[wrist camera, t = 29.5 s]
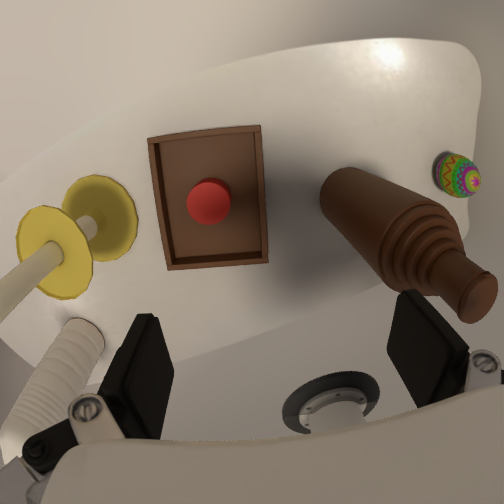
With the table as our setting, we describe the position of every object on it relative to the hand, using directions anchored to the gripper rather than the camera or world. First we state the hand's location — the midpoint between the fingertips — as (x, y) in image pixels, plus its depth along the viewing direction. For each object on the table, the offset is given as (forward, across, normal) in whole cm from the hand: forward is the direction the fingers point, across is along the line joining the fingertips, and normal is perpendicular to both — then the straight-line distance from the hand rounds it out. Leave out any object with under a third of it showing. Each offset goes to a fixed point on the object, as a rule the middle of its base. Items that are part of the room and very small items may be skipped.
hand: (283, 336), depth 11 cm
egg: (+20, -23, -3) cm, 31 cm away
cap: (+20, +4, -2) cm, 20 cm away
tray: (+20, +4, -2) cm, 21 cm away
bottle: (+20, -10, 0) cm, 22 cm away
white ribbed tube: (+20, +25, +14) cm, 36 cm away
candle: (+20, +17, -1) cm, 27 cm away
